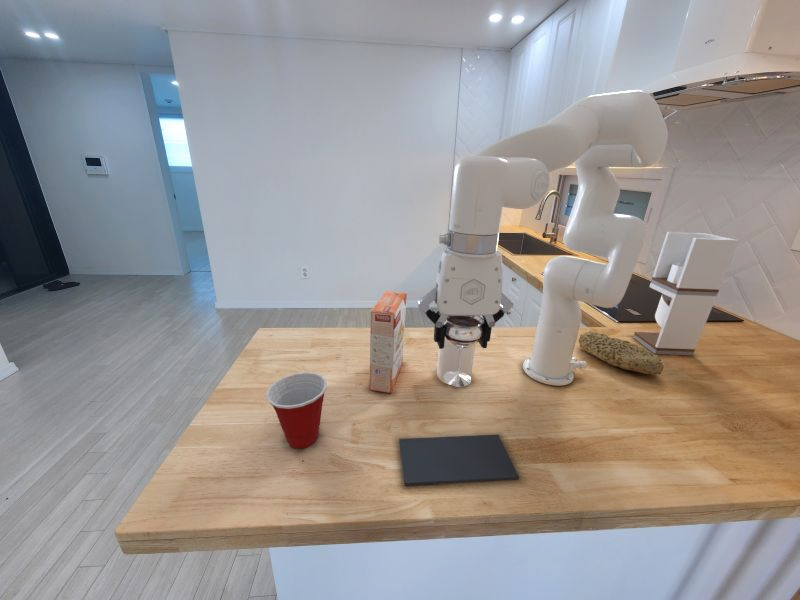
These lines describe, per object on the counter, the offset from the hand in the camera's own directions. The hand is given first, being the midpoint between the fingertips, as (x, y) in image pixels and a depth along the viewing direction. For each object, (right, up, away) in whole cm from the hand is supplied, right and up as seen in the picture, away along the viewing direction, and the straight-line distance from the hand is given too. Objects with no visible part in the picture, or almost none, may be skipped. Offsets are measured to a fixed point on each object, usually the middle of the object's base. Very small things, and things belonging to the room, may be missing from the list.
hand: (461, 343), depth 58 cm
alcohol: (+3, -12, +28) cm, 31 cm away
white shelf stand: (+73, -7, +48) cm, 88 cm away
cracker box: (-14, -12, +28) cm, 33 cm away
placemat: (0, -22, +4) cm, 22 cm away
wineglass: (0, -7, +3) cm, 7 cm away
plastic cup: (-30, -19, +7) cm, 36 cm away
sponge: (+51, -10, +38) cm, 65 cm away
